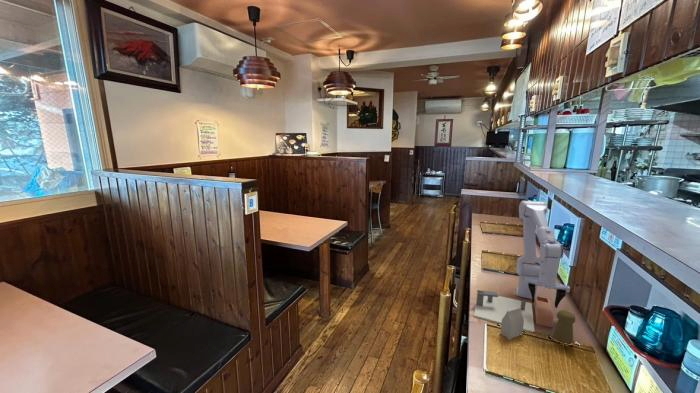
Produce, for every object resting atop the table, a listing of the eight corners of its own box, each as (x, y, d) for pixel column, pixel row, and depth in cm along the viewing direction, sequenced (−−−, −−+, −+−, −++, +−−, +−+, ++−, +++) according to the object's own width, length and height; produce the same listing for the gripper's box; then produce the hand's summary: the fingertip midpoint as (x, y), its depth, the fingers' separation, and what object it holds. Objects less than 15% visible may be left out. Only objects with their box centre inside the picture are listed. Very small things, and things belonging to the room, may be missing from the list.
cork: (576, 347, 98) (581, 318, 96) (557, 345, 100) (561, 316, 98) (567, 336, 104) (571, 308, 102) (549, 334, 105) (552, 307, 103)
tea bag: (522, 335, 105) (525, 310, 103) (509, 339, 102) (512, 314, 101) (513, 329, 108) (515, 305, 106) (500, 333, 106) (503, 309, 104)
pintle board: (478, 292, 135) (479, 279, 134) (531, 304, 125) (532, 290, 124) (473, 316, 116) (474, 301, 115) (534, 333, 106) (536, 317, 105)
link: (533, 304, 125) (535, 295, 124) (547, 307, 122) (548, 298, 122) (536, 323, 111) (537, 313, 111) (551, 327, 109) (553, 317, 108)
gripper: (527, 272, 113) (523, 303, 115) (572, 280, 106) (568, 313, 108) (526, 265, 119) (523, 295, 121) (569, 273, 112) (565, 305, 114)
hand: (544, 303), depth 115 cm, fingers open, 7 cm apart
